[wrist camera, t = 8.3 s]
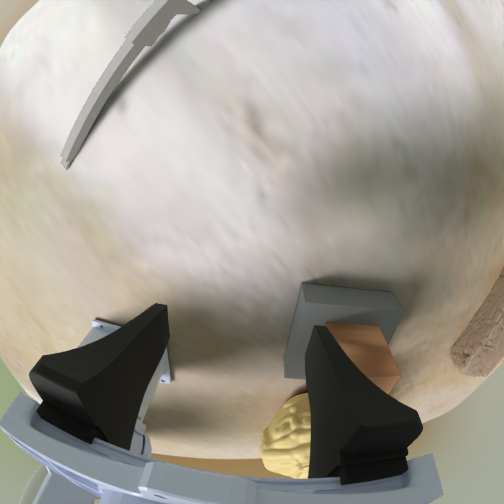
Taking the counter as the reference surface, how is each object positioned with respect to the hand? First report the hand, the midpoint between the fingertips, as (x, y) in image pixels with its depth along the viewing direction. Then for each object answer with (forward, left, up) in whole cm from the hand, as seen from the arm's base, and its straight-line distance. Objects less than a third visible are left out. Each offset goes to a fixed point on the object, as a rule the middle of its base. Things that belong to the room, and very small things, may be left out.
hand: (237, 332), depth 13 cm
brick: (+32, -4, -11) cm, 34 cm away
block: (+9, -7, -7) cm, 13 cm away
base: (+9, -7, -10) cm, 15 cm away
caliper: (-12, +14, -11) cm, 21 cm away
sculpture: (+10, -20, -11) cm, 25 cm away
